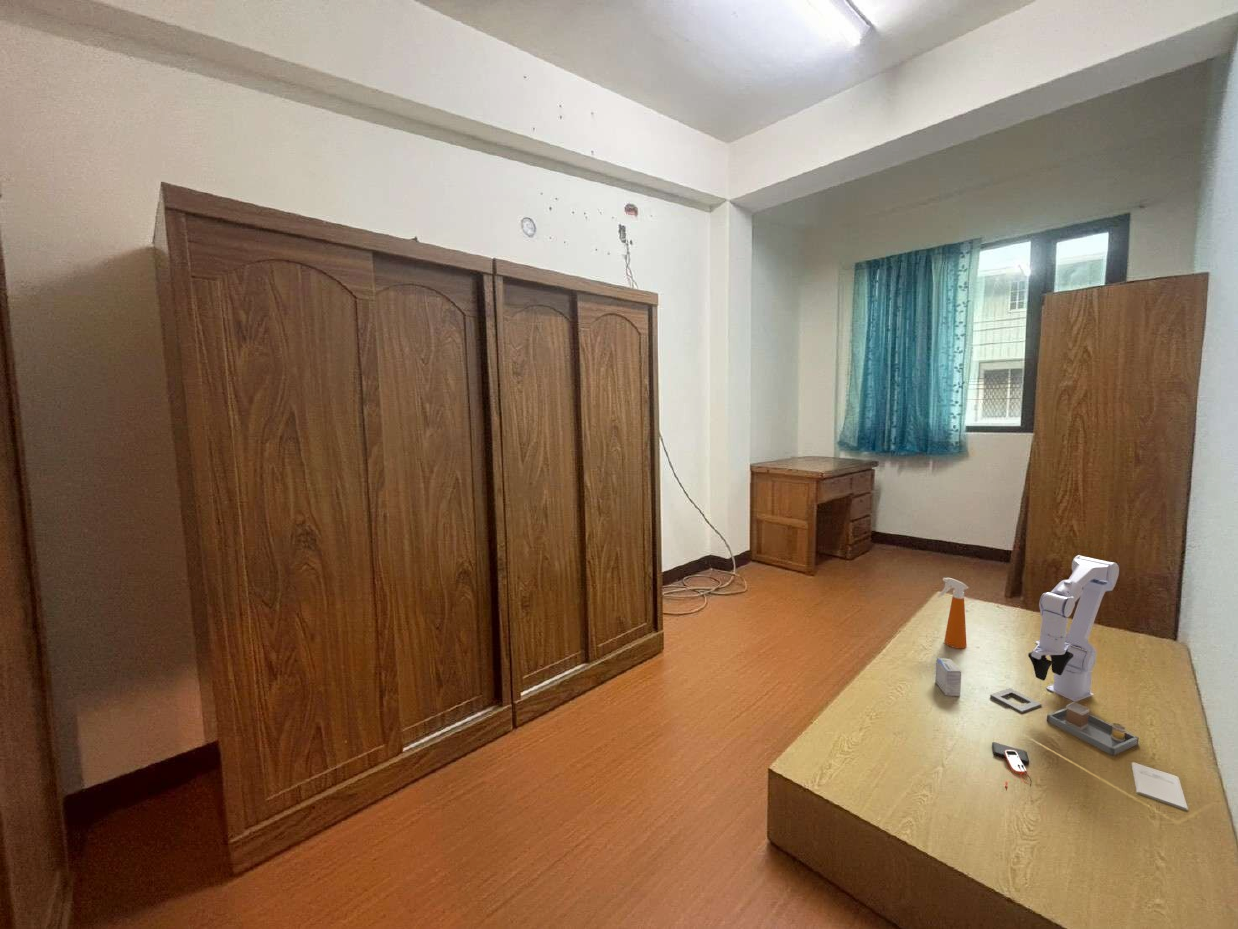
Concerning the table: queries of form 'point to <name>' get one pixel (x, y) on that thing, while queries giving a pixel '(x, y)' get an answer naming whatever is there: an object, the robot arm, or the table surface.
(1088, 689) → the robot arm
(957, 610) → the spray bottle
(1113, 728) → the cylinder
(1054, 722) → the parts tray
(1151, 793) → the external hard drive
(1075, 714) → the block
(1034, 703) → the grey square frame
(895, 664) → the table surface
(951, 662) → the medicine box
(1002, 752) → the multimeter
